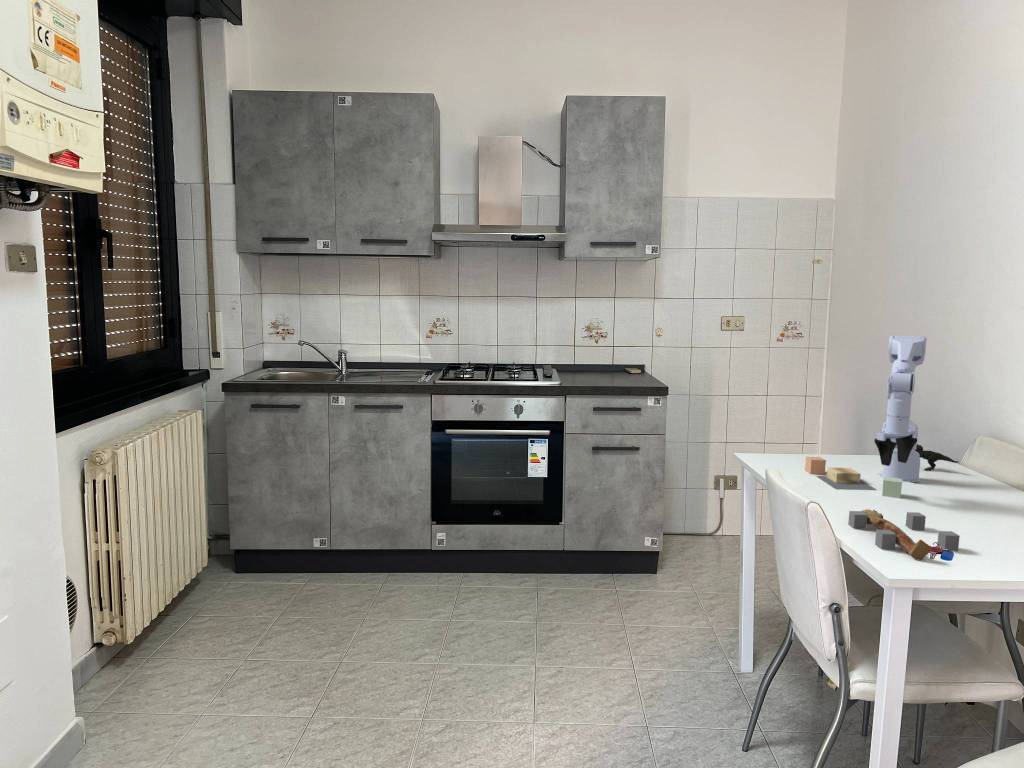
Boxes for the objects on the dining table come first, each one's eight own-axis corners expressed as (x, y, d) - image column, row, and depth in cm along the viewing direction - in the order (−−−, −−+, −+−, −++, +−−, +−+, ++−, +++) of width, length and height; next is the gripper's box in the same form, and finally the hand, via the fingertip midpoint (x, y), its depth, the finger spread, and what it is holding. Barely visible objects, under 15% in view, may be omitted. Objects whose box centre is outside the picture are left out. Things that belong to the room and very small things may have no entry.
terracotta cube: (818, 472, 234) (820, 456, 233) (824, 475, 230) (825, 460, 229) (804, 471, 234) (805, 456, 233) (810, 475, 230) (811, 459, 229)
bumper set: (917, 526, 181) (919, 512, 181) (958, 550, 164) (959, 535, 164) (848, 524, 181) (849, 510, 181) (881, 549, 165) (882, 533, 164)
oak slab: (849, 477, 226) (850, 467, 226) (859, 483, 219) (860, 473, 219) (826, 476, 226) (827, 467, 226) (836, 482, 219) (836, 473, 219)
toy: (912, 465, 246) (914, 441, 245) (961, 474, 234) (963, 449, 233) (905, 467, 243) (907, 443, 242) (955, 476, 231) (957, 451, 230)
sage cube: (900, 496, 208) (902, 478, 208) (900, 500, 204) (901, 482, 204) (883, 493, 210) (884, 476, 210) (881, 497, 207) (883, 480, 206)
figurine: (915, 535, 157) (854, 489, 187) (896, 557, 158) (838, 508, 188) (943, 555, 158) (877, 506, 188) (923, 577, 159) (861, 525, 189)
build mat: (854, 478, 227) (854, 476, 227) (877, 491, 212) (877, 490, 212) (815, 477, 227) (815, 475, 227) (835, 490, 213) (835, 489, 212)
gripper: (900, 411, 211) (896, 458, 213) (868, 415, 204) (864, 463, 206) (924, 415, 205) (919, 463, 207) (892, 419, 198) (888, 468, 200)
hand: (893, 463), depth 206 cm, fingers open, 7 cm apart
